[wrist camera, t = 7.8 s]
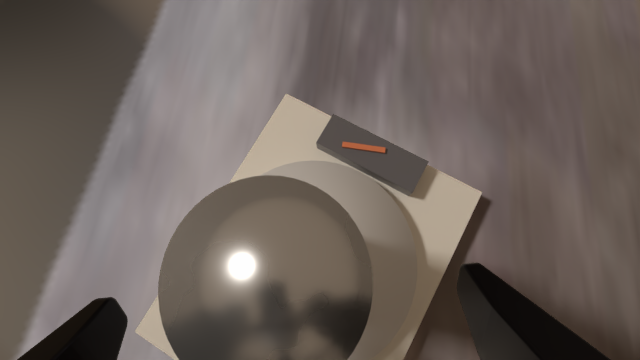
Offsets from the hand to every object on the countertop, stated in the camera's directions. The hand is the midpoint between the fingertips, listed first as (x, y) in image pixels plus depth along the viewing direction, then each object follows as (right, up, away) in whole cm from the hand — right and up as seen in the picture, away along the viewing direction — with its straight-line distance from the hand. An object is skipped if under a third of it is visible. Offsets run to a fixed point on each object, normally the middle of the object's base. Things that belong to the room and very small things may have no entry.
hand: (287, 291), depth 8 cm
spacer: (0, -2, +8) cm, 9 cm away
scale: (0, -2, +10) cm, 11 cm away
